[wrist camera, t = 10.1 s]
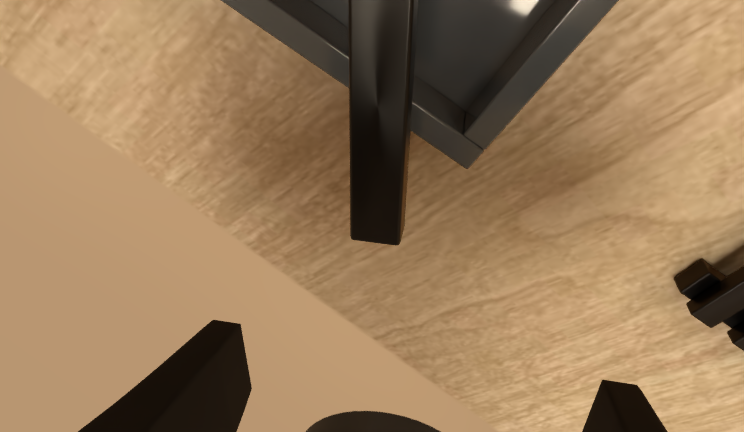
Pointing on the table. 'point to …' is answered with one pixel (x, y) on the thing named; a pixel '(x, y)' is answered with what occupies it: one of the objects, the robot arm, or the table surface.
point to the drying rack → (715, 297)
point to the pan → (380, 115)
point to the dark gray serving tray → (449, 57)
